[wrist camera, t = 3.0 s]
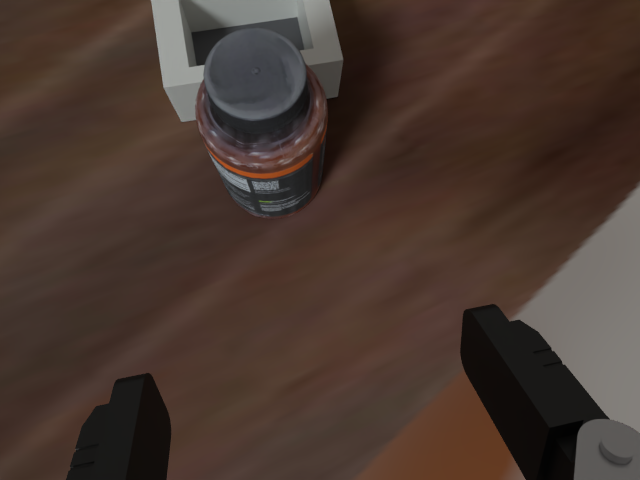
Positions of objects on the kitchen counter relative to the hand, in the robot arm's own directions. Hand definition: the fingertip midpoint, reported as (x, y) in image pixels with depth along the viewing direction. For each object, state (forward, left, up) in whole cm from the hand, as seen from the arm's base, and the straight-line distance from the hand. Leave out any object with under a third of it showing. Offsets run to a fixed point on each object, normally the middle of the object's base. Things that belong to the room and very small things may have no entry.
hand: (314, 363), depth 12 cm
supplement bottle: (0, +11, -15) cm, 19 cm away
